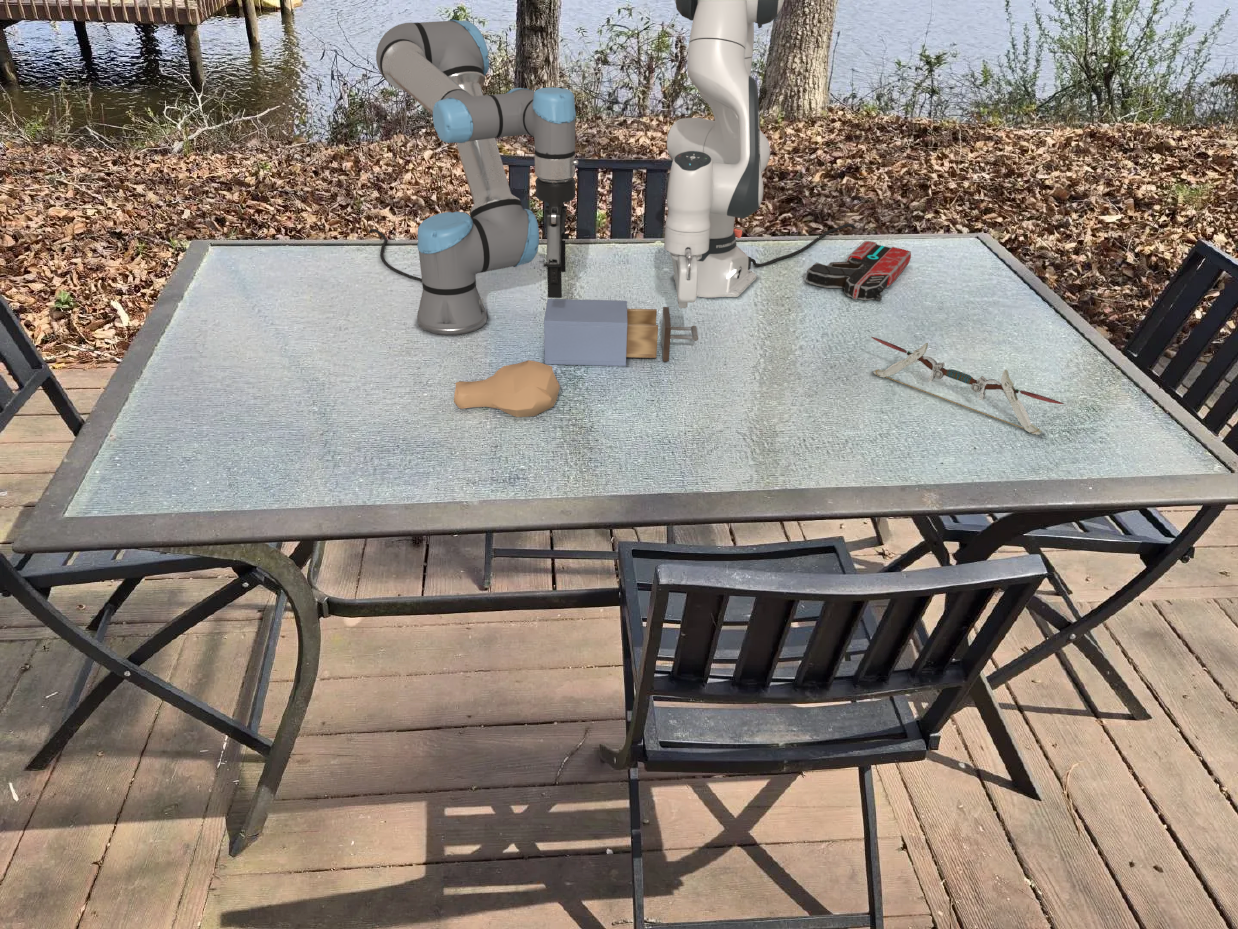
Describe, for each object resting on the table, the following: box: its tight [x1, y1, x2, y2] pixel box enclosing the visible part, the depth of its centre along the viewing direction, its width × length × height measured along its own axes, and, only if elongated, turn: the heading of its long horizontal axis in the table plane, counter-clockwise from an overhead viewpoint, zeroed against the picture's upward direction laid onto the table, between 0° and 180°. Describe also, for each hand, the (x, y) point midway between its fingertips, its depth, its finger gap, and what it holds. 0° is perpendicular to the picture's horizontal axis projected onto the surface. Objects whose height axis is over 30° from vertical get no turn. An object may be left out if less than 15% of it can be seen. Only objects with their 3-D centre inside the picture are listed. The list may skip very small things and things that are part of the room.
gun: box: [805, 240, 912, 302], centre depth 224 cm, size 4×31×19 cm
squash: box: [453, 359, 561, 418], centre depth 163 cm, size 11×20×9 cm, turn 90°
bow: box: [870, 336, 1065, 436], centre depth 169 cm, size 39×2×10 cm, turn 47°
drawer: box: [626, 306, 699, 362], centre depth 183 cm, size 22×10×8 cm, turn 90°
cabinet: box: [543, 298, 628, 367], centre depth 183 cm, size 17×11×10 cm
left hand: (557, 283), depth 177 cm, fingers open, 13 cm apart
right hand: (682, 305), depth 180 cm, fingers closed
